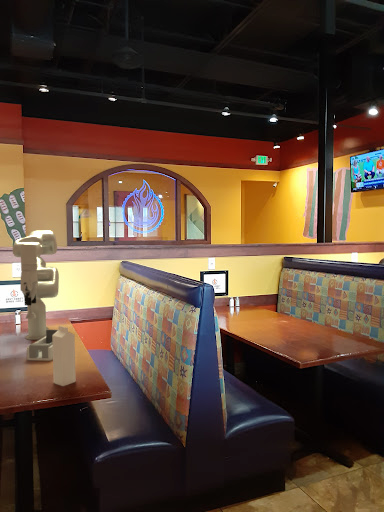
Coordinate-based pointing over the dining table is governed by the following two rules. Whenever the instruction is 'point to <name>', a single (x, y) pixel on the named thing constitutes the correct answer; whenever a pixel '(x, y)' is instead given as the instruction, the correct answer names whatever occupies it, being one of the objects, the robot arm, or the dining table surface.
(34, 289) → the chalice
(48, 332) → the pusher
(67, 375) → the milk
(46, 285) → the robot arm
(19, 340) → the dining table surface
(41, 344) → the grey bracket
